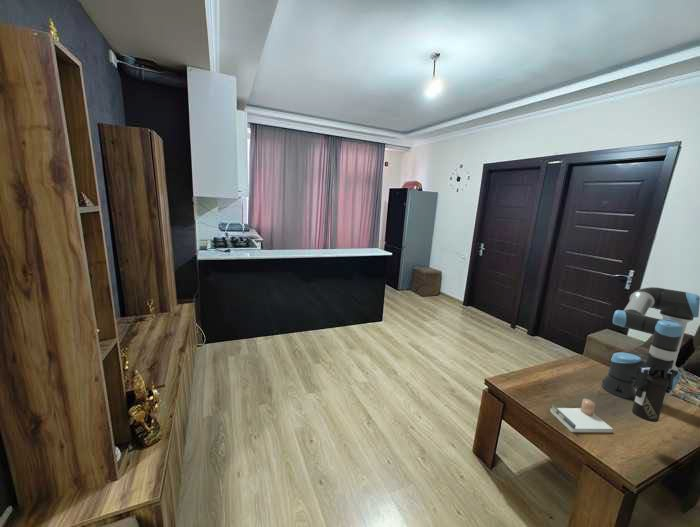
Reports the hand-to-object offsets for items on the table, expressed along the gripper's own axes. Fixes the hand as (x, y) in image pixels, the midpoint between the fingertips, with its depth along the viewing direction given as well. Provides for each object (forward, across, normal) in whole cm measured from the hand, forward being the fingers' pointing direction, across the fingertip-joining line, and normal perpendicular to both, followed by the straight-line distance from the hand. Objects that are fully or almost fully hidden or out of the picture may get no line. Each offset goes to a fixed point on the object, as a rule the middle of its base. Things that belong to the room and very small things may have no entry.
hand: (647, 403), depth 125 cm
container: (+7, 0, 0) cm, 7 cm away
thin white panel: (+20, +16, -13) cm, 29 cm away
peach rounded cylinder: (+18, +9, -17) cm, 27 cm away
